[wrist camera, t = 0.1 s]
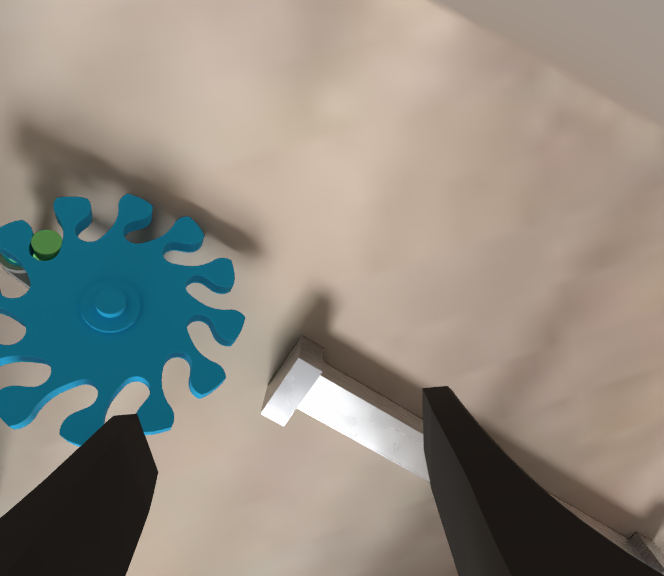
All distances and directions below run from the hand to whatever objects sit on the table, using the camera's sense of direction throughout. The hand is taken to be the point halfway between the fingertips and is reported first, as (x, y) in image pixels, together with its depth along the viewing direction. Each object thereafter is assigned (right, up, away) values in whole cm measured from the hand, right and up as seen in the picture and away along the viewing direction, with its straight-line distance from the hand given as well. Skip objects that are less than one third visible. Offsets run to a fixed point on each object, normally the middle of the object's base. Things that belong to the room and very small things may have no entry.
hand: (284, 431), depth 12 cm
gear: (-8, +4, +10) cm, 13 cm away
